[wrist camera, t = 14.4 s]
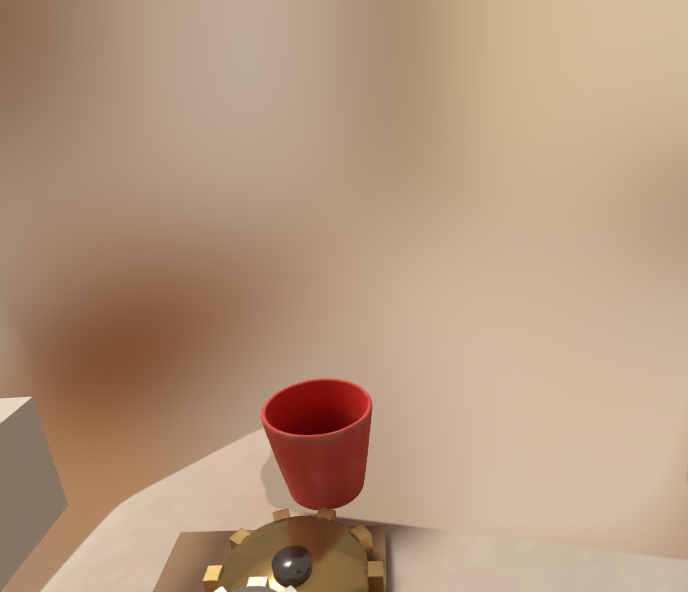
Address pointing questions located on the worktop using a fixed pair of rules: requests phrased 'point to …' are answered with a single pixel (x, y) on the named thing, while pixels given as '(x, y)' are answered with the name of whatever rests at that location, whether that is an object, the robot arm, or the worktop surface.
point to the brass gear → (301, 556)
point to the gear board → (224, 558)
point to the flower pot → (320, 439)
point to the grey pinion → (257, 586)
